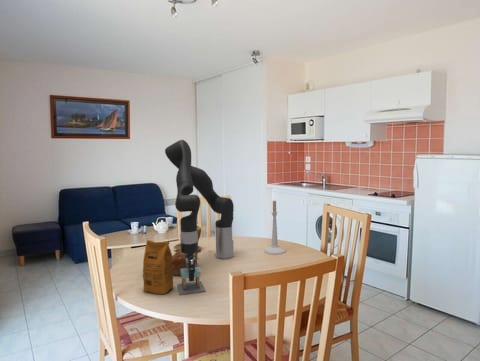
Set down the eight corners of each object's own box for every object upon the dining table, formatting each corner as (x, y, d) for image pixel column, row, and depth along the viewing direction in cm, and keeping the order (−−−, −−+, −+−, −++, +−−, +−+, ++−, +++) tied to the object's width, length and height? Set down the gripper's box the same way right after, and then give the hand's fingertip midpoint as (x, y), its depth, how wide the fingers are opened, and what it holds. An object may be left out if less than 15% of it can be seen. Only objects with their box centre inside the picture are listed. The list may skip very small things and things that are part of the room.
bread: (191, 276, 171) (190, 256, 170) (169, 276, 172) (168, 256, 170) (198, 263, 189) (198, 245, 188) (178, 263, 190) (178, 245, 189)
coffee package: (153, 283, 163) (151, 236, 161) (176, 287, 158) (174, 238, 156) (139, 292, 154) (137, 242, 152) (163, 296, 149) (161, 245, 147)
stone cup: (206, 249, 213) (205, 224, 212) (193, 255, 203) (192, 229, 202) (186, 245, 221) (185, 222, 220) (173, 251, 211) (172, 226, 210)
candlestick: (280, 255, 199) (279, 202, 195) (259, 252, 205) (259, 200, 202) (289, 249, 210) (289, 199, 206) (269, 246, 216) (269, 197, 213)
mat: (201, 282, 164) (201, 280, 163) (205, 291, 153) (205, 290, 153) (177, 285, 161) (176, 283, 161) (179, 295, 150) (179, 293, 150)
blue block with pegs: (180, 284, 159) (180, 268, 158) (198, 282, 161) (198, 266, 160) (182, 290, 153) (181, 273, 152) (201, 287, 155) (200, 271, 154)
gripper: (178, 237, 160) (180, 273, 162) (182, 246, 147) (183, 285, 148) (195, 235, 162) (196, 271, 164) (200, 244, 149) (201, 283, 150)
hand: (190, 278), depth 156 cm, fingers closed on blue block with pegs, 6 cm apart
